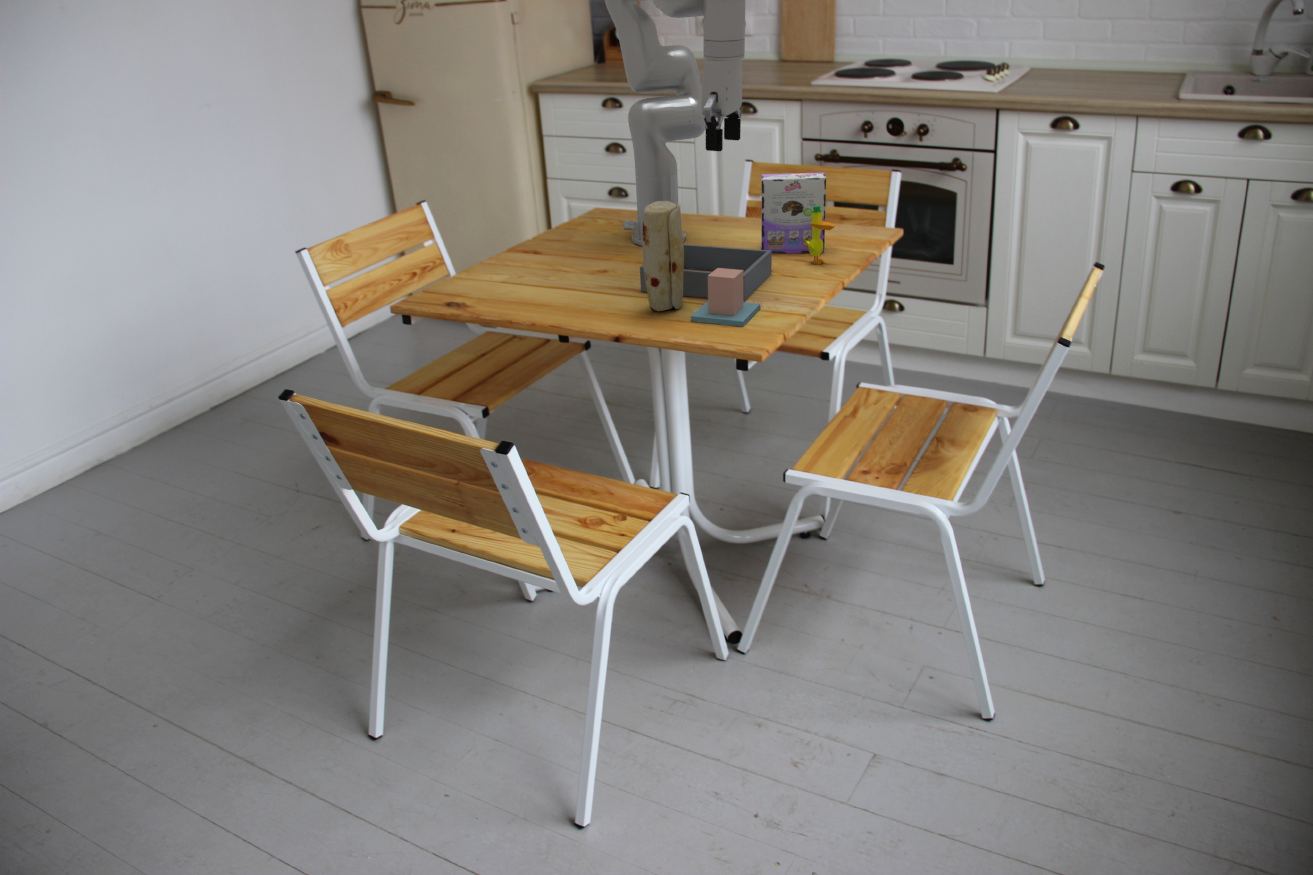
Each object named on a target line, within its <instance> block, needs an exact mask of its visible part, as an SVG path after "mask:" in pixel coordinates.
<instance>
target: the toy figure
mask: <svg viewBox="0 0 1313 875" xmlns="http://www.w3.org/2000/svg"><path fill="white" fill-rule="evenodd" d="M813 210H814V211H812V212H813V213H812V223H810V224H809V225H810V226H812V235H813V238H812V240H811V241H810V242H809V241H806V242H807V245H808V247H809V252H810V253H809V254H810V255H811V256H812V257H813V260H812V261H811V264H815V265H822V264H824V262H825V261H824V260H823V259H822V258H819V257H820V255H821V254H822V253H823V252H822V251H823V241H822V240H821V239H820V233H821V229H823V230H825V231H832V230H833V229H834V228H835V226H836V225H835V224H834V223H833V222H828V221H825V222H824V221H822V212H821V211H822V210H820V206H813Z"/></svg>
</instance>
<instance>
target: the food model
mask: <svg viewBox="0 0 1313 875" xmlns="http://www.w3.org/2000/svg"><path fill="white" fill-rule="evenodd" d="M681 213H682V212H681V205H680V204H679V203H678V204H676V203H671V202H669V201H657V202H653V203H651V204H649V205H648V206H646V208H645V210H644V213H643V246H642V262H643V263H642V265H643V268H644V275H645V282H646V288H647V292H646V294H647V299H648V300H647V301H648V303H649V304H648V305H649V308H650V310H651V311H655V312H663V311H666V310H671V309H673V308H674V309H675V310H679V309H681V308H682V305H683V297H684V296H683V272H684V270H685V268H684V244H685V243H684V241H683V235H682V231H683V225H682V222H683V221H682V214H681Z"/></svg>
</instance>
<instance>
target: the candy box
mask: <svg viewBox="0 0 1313 875" xmlns="http://www.w3.org/2000/svg"><path fill="white" fill-rule="evenodd" d="M760 183H761V184H760V186H761V188H760V189H761V190H760V191H761V197H760V198H761V203H760V204H761V223H760V224H761V225H760V226H761V230H760V231H761V237H760V238H761V240H760V242H761V243H760V250H770V251H772V253H782V254H810V252H809V247H808V245H807V242H806V241H809V242H810V241H811V240H812V238H813V235H812V226H810V225H809V224H810V223H812V213H813V212H812V211H814V210H813V206H820V210H822V211H821V212H822V221H824V222H826V202H827V201H826V196H827V195H826V194H827V176H826V174H825V172H805V173H804V172H803V173H802V172H801V173H794V172H793V173H768V174H767V173H765V174H763V173H762V174H761V182H760ZM825 232H826V230H823V229H821V233H820V239H821V240H822V241H823V251H822V252H821V253H825V243H826V242H825V239H826V238H825V236H826V233H825ZM807 252H808V253H807Z"/></svg>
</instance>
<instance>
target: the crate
mask: <svg viewBox="0 0 1313 875" xmlns="http://www.w3.org/2000/svg"><path fill="white" fill-rule="evenodd" d="M683 244H684V272H683V297H685V296H686V297H693V298H694V297H696V298H706V299H708V275H709V274H711V273H712V272H713V271H714V270H716V269H717V268H725V269H736V270H743V302H746V301H747V299H748V298H749V297H751V295H752V294H754V292H756V290H757V289H759V287H760V286H761V285H763V284H764V282H766V281H767V280H768V278H769V277H770V276H771V275H772V266H773V265H772V260H773V259H772V251H770V250H761V249H756V248H755V249H753V248H741V247H728V246H727V247H726V246H713V245H701V244H688V243H687V244H686V243H683ZM639 277H640V292H645V293H647V288H646V282H645V275H644V268H643V264H642V265H641V266H639Z"/></svg>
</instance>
